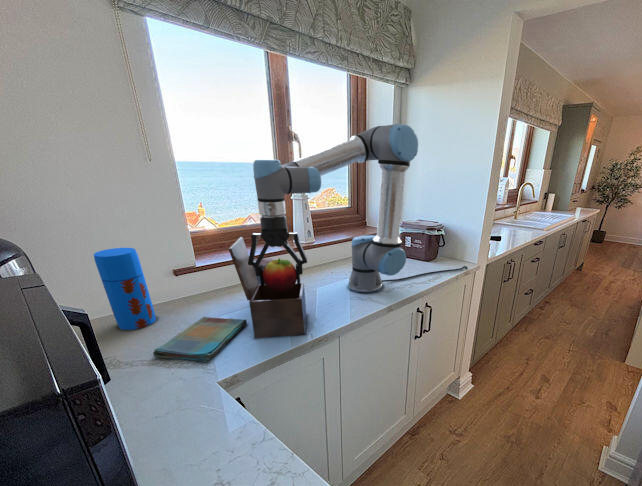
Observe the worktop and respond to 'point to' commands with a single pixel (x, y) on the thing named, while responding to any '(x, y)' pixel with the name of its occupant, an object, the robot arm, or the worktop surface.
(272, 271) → the fruit
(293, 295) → the chest
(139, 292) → the thermos
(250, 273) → the chest lid
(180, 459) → the worktop surface
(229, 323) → the dish towel
